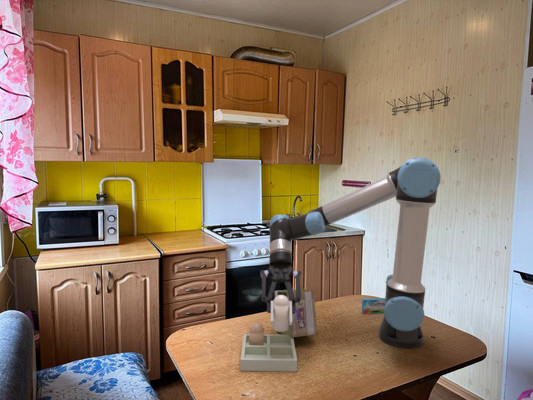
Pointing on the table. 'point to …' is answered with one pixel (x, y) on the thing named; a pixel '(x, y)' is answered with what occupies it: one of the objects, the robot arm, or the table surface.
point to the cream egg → (280, 313)
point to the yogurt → (373, 306)
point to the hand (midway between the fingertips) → (281, 323)
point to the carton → (267, 351)
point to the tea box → (302, 314)
